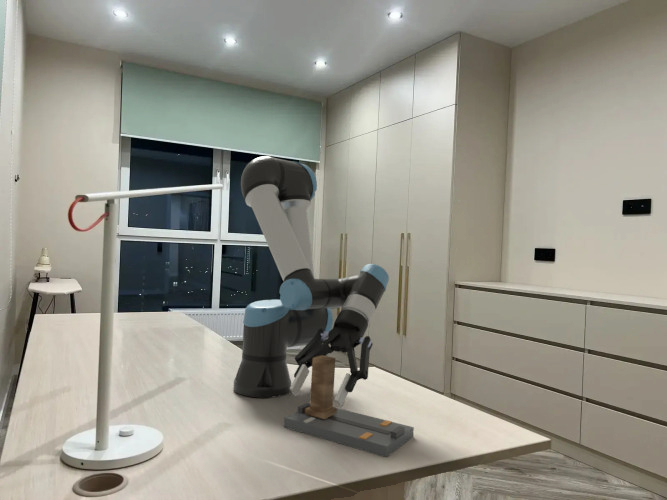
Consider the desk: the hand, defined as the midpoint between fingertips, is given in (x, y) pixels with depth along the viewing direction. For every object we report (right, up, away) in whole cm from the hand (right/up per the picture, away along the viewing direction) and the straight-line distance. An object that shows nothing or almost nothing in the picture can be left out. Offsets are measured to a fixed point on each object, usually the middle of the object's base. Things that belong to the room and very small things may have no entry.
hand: (314, 397), depth 108 cm
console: (+7, -7, -1) cm, 10 cm away
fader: (+1, -4, +2) cm, 5 cm away
